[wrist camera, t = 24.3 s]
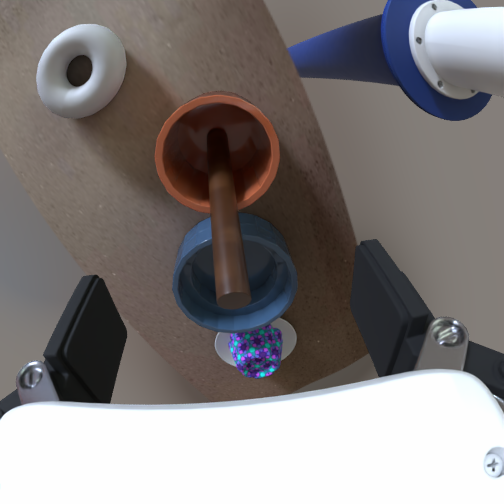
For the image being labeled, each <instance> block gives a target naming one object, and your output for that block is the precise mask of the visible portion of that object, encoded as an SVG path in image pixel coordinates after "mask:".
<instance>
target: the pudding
mask: <svg viewBox="0 0 504 504" xmlns="http://www.w3.org/2000/svg"><path fill="white" fill-rule="evenodd" d="M296 340H297V336H296V332H295V330H294V328H293V327H292V326H291V325H290V324H289V323H288V322H287V321H285V320H283V319H281V318H278V319H276V320H275V321H273V322H272V323H271V324H269V325H267V326H265V327H262V328H259V329H257V330H254V331H250V332H243V333H234V334H233V333H222V332H219V333H218V335H217V337H216V340H215V348H216V351H217V353H218V355H219V356H220V357H221V359H223V360H224V361H225V362H227V363H229V364H231V365H233V366H236V367H237V369H238V370H239V371H240V372H242V374H243V375H244V376H246V377H249V378H250V377H254V378H257V379H259V378H263V377H264V376H270V375H272V374H273V373H274V371H276V370H278V368H279V367H280V363H281V361H282V360H283V359H285V358H286V357H287V356H288V355H289V354H290V353H291V352H292V351H293V349H294V347H295V345H296Z"/></svg>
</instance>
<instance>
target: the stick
mask: <svg viewBox="0 0 504 504" xmlns="http://www.w3.org/2000/svg"><path fill="white" fill-rule="evenodd" d="M207 160H208V181H209V200H210V217H211V233H212V248H213V262H214V275H215V287H216V299H217V304H218V305H219V306H220V307H221V308H224V309H239V308H243V307H245V306H247V305H248V304H249V303H250V302H251V292H250V286H249V279H248V273H247V266H246V260H245V253H244V246H243V240H242V233H241V227H240V220H239V213H238V206H237V200H236V193H235V186H234V179H233V173H232V166H231V159H230V152H229V145H228V138H227V134H226V132H225V131H224V130H222V129H219V128H216V129H212V130H211V131H209V132H208V134H207Z"/></svg>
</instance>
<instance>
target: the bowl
mask: <svg viewBox="0 0 504 504" xmlns="http://www.w3.org/2000/svg"><path fill="white" fill-rule="evenodd" d="M238 213H239V212H238ZM239 220H240V227H241V233H242V240H243V246H244V253H245V260H246V266H247V273H248V279H249V286H250V292H251V302H250V303H249V304H248V305H247V306H245V307H243V308H239V309H224V308H221V307H220V306H219V305H218V304H217V299H216V287H215V275H214V262H213V248H212V233H211V217H209V218H207V219H205V220H203V221H201V222H199V223H198V224H197V225H196V226H195V227H193V228H192V229H191V230H190V231H189V232H188V233H187V234H186V235H185V237H184V239H183V241H182V243H181V245H180V247H179V250H178V254H177V259H176V264H175V269H174V274H173V287H172V290H173V293H174V296H175V299H176V302H177V305H178V306H179V307H180V309H181V310H182V311H183V313H184V314H185V315H186V316H187V317H188V318H189V319H191V320H192V321H194V322H195V323H196V324H198V325H199V326H201V327H204V328H207V329H210V330H213V331H216V332H222V333H233V334H234V333H243V332H250V331H254V330H257V329H259V328H262V327H265V326H267V325H269V324H271V323H272V322H273V321H275V320H276V319H278V318H279V317H281V316H282V315H283V314H284V312H285V311H286V310H287V309H288V308H289V306H290V305H291V304H292V302H293V299H294V297H295V294H296V291H297V271H296V269H295V266H294V263H293V260H292V257H291V255H290V252H289V249H288V247H287V244H286V242H285V240H284V238H283V236H282V234H281V233H280V232H279V231H278V230H277V229H276V228H275V227H274V226H273V225H272V224H271V223H269V222H267V221H265V220H263V219H261V218H259V217H257V216H255V215H252V214H246V213H239Z"/></svg>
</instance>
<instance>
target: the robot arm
mask: <svg viewBox="0 0 504 504" xmlns="http://www.w3.org/2000/svg"><path fill="white" fill-rule="evenodd" d="M409 44H410V49H411V53H412V56H413V59H414V62H415V64H416V66H417V68H418V70H419V72H420V73H421V75H422V76H423V78H424V79H425V81H426V82H427V83H428V84H429V85H430V86H431V87H432V88H433V89H435V90H436V91H437V92H438V93H440V94H442V95H444V96H447V97H450V98H454V99H467V98H470V97H472V96H474V95H475V94H477V93H478V92H479V91H480V92H484V93H488V94H492V95H496V96H500V97H504V7H487V8H472V9H464V8H462V7H461V6H459V5H458V4H456V3H453V2H451V1H448V0H432V1H428V2H426V3H424V4H422V5H421V6H420V7H419V8H417V9H416V11H415V13H414V14H413V16H412V19H411V22H410V27H409ZM350 307H351V311H352V314H353V316H354V318H355V320H356V323H357V325H358V327H359V330H360V332H361V334H362V337H363V339H364V342H365V344H366V346H367V349H368V351H369V354H370V356H371V358H372V361H373V363H374V366H375V368H376V371H377V373H378V376H379V378H376V379H371V380H367V381H362V382H357V383H352V384H347V385H342V386H337V387H331V388H326V389H321V390H315V391H309V392H303V393H296V394H289V395H282V396H275V397H266V398H258V399H249V400H239V401H227V402H213V403H196V404H165V405H130V404H129V405H128V404H110V401H111V397H112V393H113V389H114V385H115V381H116V377H117V372H118V369H119V365H120V361H121V357H122V353H123V350H124V346H125V343H126V339H127V330H126V327H125V325H124V323H123V321H122V319H121V317H120V315H119V313H118V311H117V309H116V306H115V304H114V302H113V300H112V298H111V296H110V293H109V291H108V289H107V287H106V285H105V282H104V280H103V279H102V278H99V276H98V275H89V276H83V277H82V278H81V280H80V282H79V284H78V285H77V287H76V289H75V291H74V293H73V295H72V297H71V299H70V300H69V302H68V304H67V306H66V308H65V310H64V312H63V314H62V316H61V318H60V320H59V322H58V324H57V326H56V328H55V330H54V332H53V334H52V336H51V338H50V341H49V343H48V345H47V347H46V350H45V352H44V354H43V356H44V357H45V361H44V363H43V362H42V361H37V360H36V361H31V362H29V363H27V364H26V365H25V366H23V367H22V369H21V370H20V371H19V373H18V375H17V378H16V387H17V389H16V390H15V391H13V392H12V393H11V394H9V395H8V396H6V397H5V398H4V399H2V400H1V401H0V504H504V354H502V353H500V352H497V351H495V350H492V349H489V348H487V347H484V346H482V345H479V344H476V343H474V342H471V341H469V334H468V331H467V329H466V327H465V326H464V325H463V324H462V323H461V322H459V321H458V320H456V319H454V318H451V317H439V318H436V319H435V318H434V316H433V315H432V313H431V312H430V310H429V309H428V307H427V306H426V304H425V303H424V301H423V300H422V298H421V297H420V295H419V294H418V292H417V291H416V290H415V288H414V287H413V285H412V284H411V282H410V281H409V279H408V278H407V277H406V275H405V274H404V273H403V272H401V271H400V270H399V269H398V267H397V266H396V264H395V263H394V262H393V260H392V259H391V257H390V256H389V255H388V253H387V252H386V251H385V249H384V248H383V247H382V245H381V244H380V243H379V241H378V240H377V239H373V240H366V241H361V243H360V245H358V246H356V250H355V262H354V272H353V282H352V291H351V299H350Z"/></svg>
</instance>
